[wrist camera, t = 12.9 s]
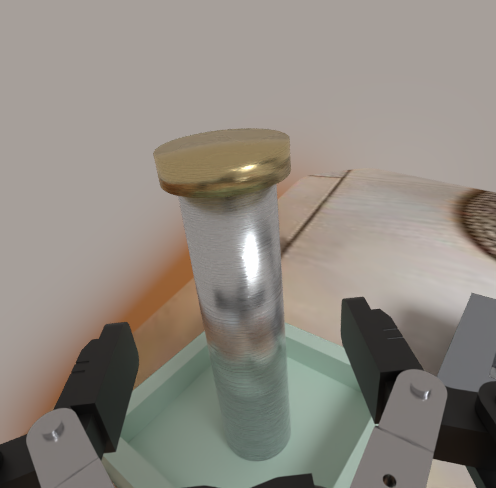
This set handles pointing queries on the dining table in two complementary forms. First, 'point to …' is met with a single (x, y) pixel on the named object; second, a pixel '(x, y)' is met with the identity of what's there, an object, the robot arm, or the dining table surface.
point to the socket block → (472, 347)
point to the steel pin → (237, 273)
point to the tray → (212, 431)
